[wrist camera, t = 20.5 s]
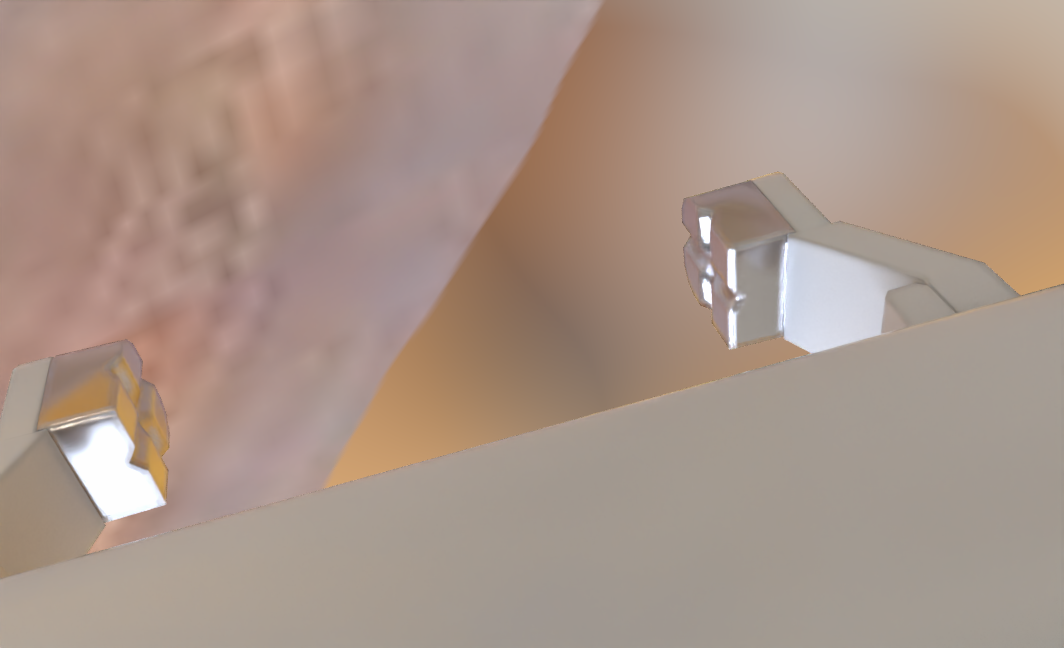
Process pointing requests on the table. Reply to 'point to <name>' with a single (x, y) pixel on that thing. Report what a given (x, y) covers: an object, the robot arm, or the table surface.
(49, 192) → the table surface
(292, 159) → the table surface
